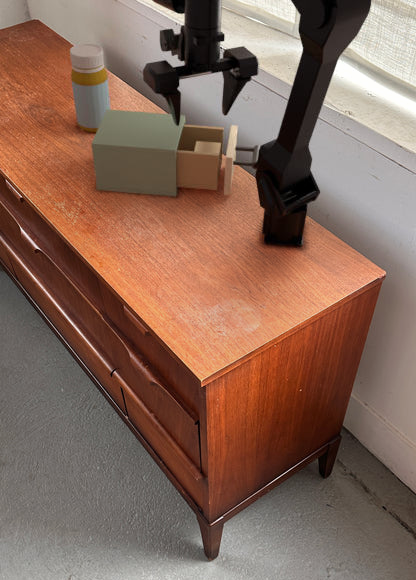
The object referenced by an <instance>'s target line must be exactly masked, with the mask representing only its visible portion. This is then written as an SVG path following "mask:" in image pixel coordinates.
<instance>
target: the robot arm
mask: <svg viewBox="0 0 416 580" xmlns="http://www.w3.org/2000/svg"><path fill="white" fill-rule="evenodd" d="M151 1H152V2H154V4H157V5H159V6H161V7H163V8H165V9H168V10H170V11H172V12H174V13H176V14H178V15H183V14H184V21H183V23H184V24H182V25H180V29H179V31H180V32H178V33H175V31H174V29H173V28H166V29H160V30H159V45H160V50H161V51H162V52H163V53H165V52H170V54H171V56H172V57H174V56H177V60H178V61H180V62H183V63H184V65H178V66H173V65H171V63H170V62H168V60H166V59H163V60H157V61H152V62H147V63H146V64H145V65H144V68H143V69H142V80H143V82H144V83H145V84H146V85H147V86H148V87H149V88H150V89H151V90H152V92H153V93H154V94H156V95H161V97H163V98H164V99H165V101H166V104H167V106H168V107H167V108H168V109H169V112H170V114H171V115H172V118H173V120H174V123H175V124H176V126H179V123H180V115H181V111H182V110H181V108H182V106H181V105H182V92H181V91H180V90H179V89H178V88H179V87H180V80H187V79H191V78H196V77H200V76H206V75H211V74H218V73H222V79H223V84H222V85H223V86H222V98H221V99H222V101H221V113H222V115H223V116H228V114H229V113H230V111H231V109H232V107H233V105H234V104H235V102H236V100H237V98H238V97H239V95H240V93H241V92H242V91H243V89H244V87H245V86H246V85H247V83H249V82H251V81H252V77H257V76H258V75H259V73H260V61H259V58H258V57H257V55H256V54H254V53H253V52H252V51H250V50H249V49H248V48H246V47H245V46H243V45H242V46H237V47H231V48H225V50H224V51H223V52H222V58H221V43H222V42H225V39H226V37H225V35H226V34H225V33H224V32H222V13H223V10H222V9H223V0H151ZM290 1H291V3H292V5H293V6H294V8H295V9H296V11H297V12H298V14H299V21H298V27H297V28H298V31H297V32H298V34H299V39H300V42H301V46H302V50H301V51H302V52H301V55H300V58H299V62H298V66H297V69H296V72H295V75H294V79H293V83H292V86H291V89H290V93H289V96H288V100H287V102H286V107H285V110H284V113H283V117H282V119H281V124H280V126H279V131H278V133H277V137H276V138H274V139H272V140H270V141H268V142H266V143H264V144H262V145H260V149H259V153H258V160H257V162H256V164H255V165H254V168H257V169H255V174H254V177H255V178H254V179H255V183H256V190H257V195H258V202H259V207H261V208H262V209H264V210H263V217H262V226H261V227H262V229H261V234H262V235H264V237H263V244H265V245H272V246H283V247H284V246H285V247H296V248H302V247H303V246H304V233H305V226H306V219H307V213H308V204H310V203H312V202H316V201H317V199H318V197H319V196H320V194H321V190H320V188H319V186H318V184H317V181H316V179H315V177H314V175H313V172H312V170H311V169H312V165H313V164H312V163H313V155H312V153H311V149H310V142H311V139H312V136H313V133H314V131H315V128H316V125H317V121H318V119H319V116H320V113H321V111H322V108H323V105H324V102H325V99H326V96H327V93H328V90H329V87H330V84H331V81H332V79H333V76H334V73H335V70H336V67H337V64H338V61H339V60H340V58H341V55H342V54H343V53H345V50H346V49H348V47H349V46H350V45H351V44H352V42H353V41H354V40H355V39H356V38H357V36H358V34H359V33H360V31H361V29H362V27H363V25H364V23H365V22H366V20H367V18H368V16H369V14H370V11H371V7H372V0H290Z"/></svg>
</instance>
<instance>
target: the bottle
mask: <svg viewBox="0 0 416 580" xmlns="http://www.w3.org/2000/svg"><path fill="white" fill-rule="evenodd" d="M69 55H70V62H71V68H72V69H71V73H70V79H71V87H72V88H71V89H72V95H73V103H74V109H75V116H76V122H77V123H76V124H77V126H78V127H79V128H80V129H81V130H82V131H84V132H86V133H92V134H93V133H95V134H96V132H97V130H98V128H99V126H100V124H101V121H102V119H103V117H104V115H105V113H106V110H107V109H109V110H112V109H111V100H110V88H109V78H108V72H107V70H106V68H105V63H104V62H105V61H104V60H105V59H104V50H103V48H102V46H101V45H99V44H94V43H79V44H76V45H73V46H72V47H71V48H70V49H69Z"/></svg>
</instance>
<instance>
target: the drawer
mask: <svg viewBox="0 0 416 580" xmlns="http://www.w3.org/2000/svg"><path fill="white" fill-rule="evenodd" d="M224 129H225V128H224V127H222V126H208V125H196V124H195V125H194V124H185V125H183V129H182V133H181V136H180V140H179V144H178V147H177V151H176V172H177V187H178V188H189V189H198V190H199V189H200V190H211V191H212V190H213V191H217V190H218V186H219V180H220V174H221V170H222V165H223V149H224ZM237 139H238V125H233V124H231V125H230V128H229V135H228V140H227V141H228V142H227V146H226V153H225V160H224V161H225V162H224V163H225V164H224V183H223V195H228V196H230V195H231V194H232V193H231V192H232V186H233V179H234V173H235V167H236V166H241V167H242V166H243V167H251V168H252V169H253V170H256V169H257V168H254V165H255V164H256V162H257V160H258V153H259V149H260V147H261V145H259V144H257V145H254V146H252V147H251V146H239V145H237V143H238V140H237ZM196 141H202V142H216V143H221V156H220V169H219V175H218V161H219V153H207V152H194V150H195V146H196ZM237 151H238V152H247V153H248V152H249V153H252V157H251V161H247V160H236V157H237V156H236V155H237Z"/></svg>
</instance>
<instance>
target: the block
mask: <svg viewBox="0 0 416 580" xmlns="http://www.w3.org/2000/svg"><path fill="white" fill-rule="evenodd" d="M194 152H207V153H219V161H218V175H219V169H220V156H221V143H216V142H202V141H196V146H195V150H194Z"/></svg>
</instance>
